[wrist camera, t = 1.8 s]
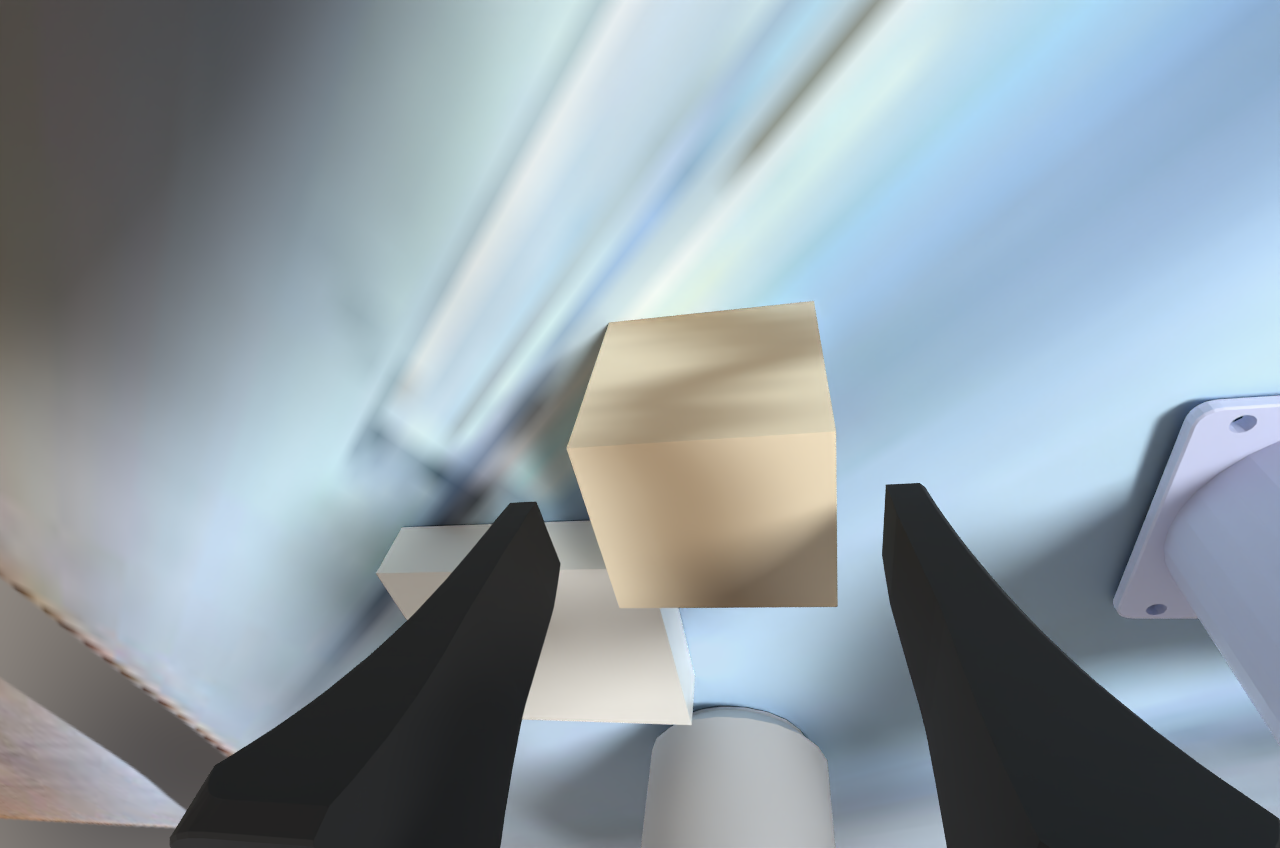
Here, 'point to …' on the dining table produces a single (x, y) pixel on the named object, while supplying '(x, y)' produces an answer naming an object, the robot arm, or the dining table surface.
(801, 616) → the dining table surface
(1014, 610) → the robot arm
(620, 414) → the cube
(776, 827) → the can
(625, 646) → the coaster
